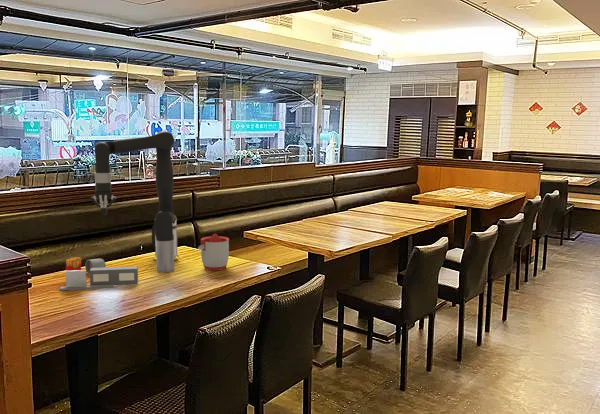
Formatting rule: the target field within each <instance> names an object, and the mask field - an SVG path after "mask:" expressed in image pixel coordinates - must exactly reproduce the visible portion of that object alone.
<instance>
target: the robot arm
mask: <svg viewBox="0 0 600 414" xmlns="http://www.w3.org/2000/svg"><path fill="white" fill-rule="evenodd" d="M174 143H175V137H174V135H173V134H172V132H170V131H165V130H160V131H159V132H157V133H156V134H153V135H152V134H151V135H149V136H142V137H130V138H122V139H116V140H109V141H108V140H107V141H100V142H97V143H96V144H95V145H94V155H95V156H94V157H95V164H94V165H95V167H94V171H95V174H94V182H95V183H94V184H95V185H94V186H95V188H94V189H95V192H94V195H93V196H91V197H90V200H91V202H92V203H93V204H94V205H95V206H96V207H97V208H100V214H101V215H102V216H106V215H107V214H108V208H110V207H111V206H112V204H113V203H114V202H115V201H116V200H117V196H114V195H113V192H112V179H111V178H112V177H111V164H110V155H114V154H119V155H120V154H126V153H131V152H137V151H142V150H148V149H151V150H152V149H155V152H156V162H155V163H156V164H155V188H156V193H157V198H158V211H157V214H156V215H155V218H154V219H155V220H154V224H155V235H156V256H155V258H156V272H158V273H164V274H165V273H172V272H173V273H174V272H175V258H174V235H173V224H172V223H173V221H174V215H175V214H174V213H175V211H174V203H173V202H174V201H173V197H174V196H173V195H174V169H173V164H172V157H171V154H172V153H171V151H172V147H173V145H174ZM110 199H111V201H109V200H110ZM98 201H99V202H98ZM108 202H109V203H108Z"/></svg>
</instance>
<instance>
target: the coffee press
mask: <svg viewBox="0 0 600 414" xmlns="http://www.w3.org/2000/svg"><path fill="white" fill-rule="evenodd" d="M154 221H155V218H154ZM177 221H178V218H177V216H176V215H175V214H174V221H173V223H172V224H173V235H174V260H176V261H179V260H178V259H180V257H179V255H178V224H177ZM151 226H152V227H151V245H152V248H153V249H154V250H155V251H154V252H155V255H154V257H153V261H155V258H156V235H155V223H153V225H151Z"/></svg>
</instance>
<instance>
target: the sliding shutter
mask: <svg viewBox="0 0 600 414" xmlns="http://www.w3.org/2000/svg"><path fill="white" fill-rule="evenodd" d="M87 283H88V282H87V271H86V269H81V270H72V271H66V270H65V287H80V286H88V285H87Z"/></svg>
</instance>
